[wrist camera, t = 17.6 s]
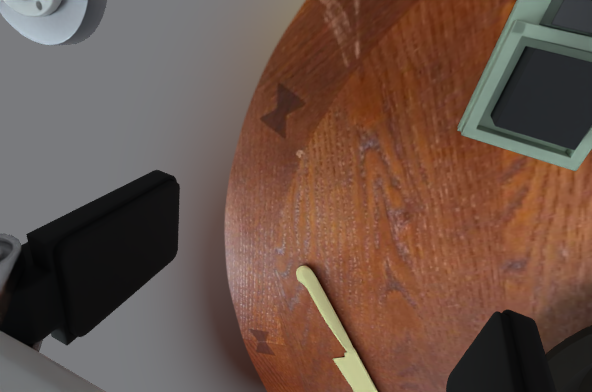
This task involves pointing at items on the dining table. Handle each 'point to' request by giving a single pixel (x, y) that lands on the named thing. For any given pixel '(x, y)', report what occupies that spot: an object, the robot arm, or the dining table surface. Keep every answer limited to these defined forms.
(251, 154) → the dining table surface
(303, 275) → the knife
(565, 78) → the loose pad
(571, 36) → the dock mat
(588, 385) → the plate
